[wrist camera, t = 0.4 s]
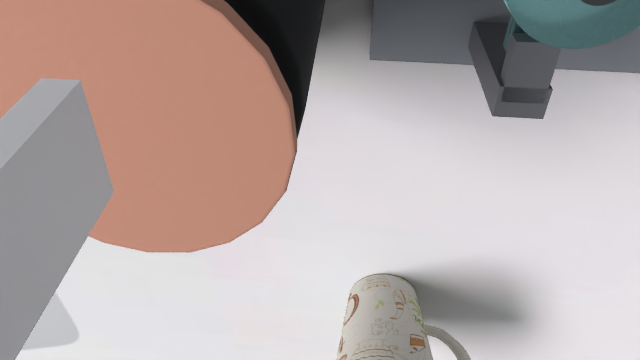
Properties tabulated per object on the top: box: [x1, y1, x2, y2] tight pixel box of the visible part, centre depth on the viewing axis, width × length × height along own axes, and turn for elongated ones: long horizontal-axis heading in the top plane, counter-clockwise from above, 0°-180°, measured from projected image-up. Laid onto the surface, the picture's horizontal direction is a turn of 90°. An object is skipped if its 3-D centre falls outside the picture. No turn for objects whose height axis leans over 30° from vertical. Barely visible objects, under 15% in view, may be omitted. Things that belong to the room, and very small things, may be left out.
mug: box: [336, 274, 471, 360], centre depth 44 cm, size 8×13×10 cm, turn 72°
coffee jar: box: [0, 0, 325, 252], centre depth 24 cm, size 11×11×18 cm
